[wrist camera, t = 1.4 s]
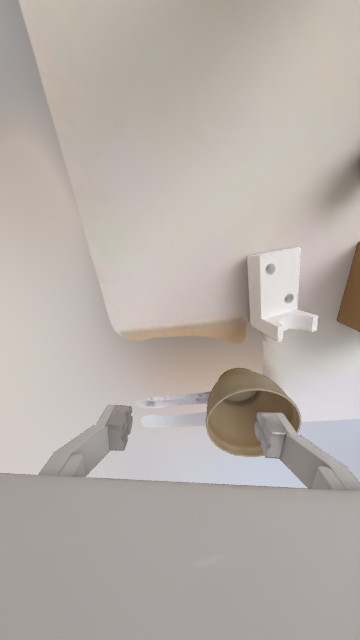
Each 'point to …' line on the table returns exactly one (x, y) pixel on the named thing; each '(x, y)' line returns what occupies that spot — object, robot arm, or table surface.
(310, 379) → the table surface
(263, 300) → the bracket
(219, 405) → the planter bowl
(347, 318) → the carton
